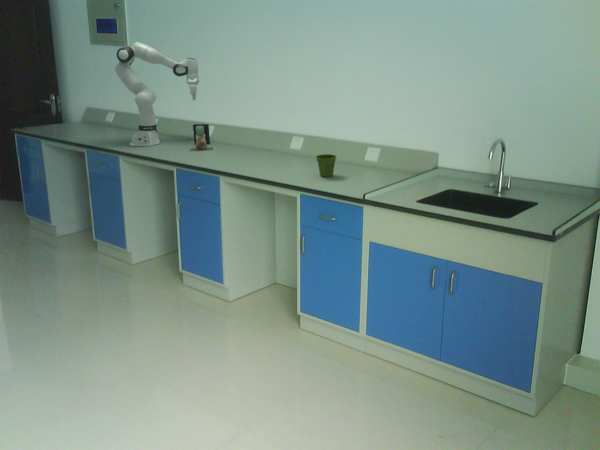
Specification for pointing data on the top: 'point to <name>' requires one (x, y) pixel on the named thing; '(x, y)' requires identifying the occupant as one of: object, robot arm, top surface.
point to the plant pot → (326, 164)
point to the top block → (200, 139)
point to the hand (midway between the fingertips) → (194, 99)
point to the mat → (201, 150)
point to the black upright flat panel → (206, 132)
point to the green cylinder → (199, 130)
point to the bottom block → (201, 146)
